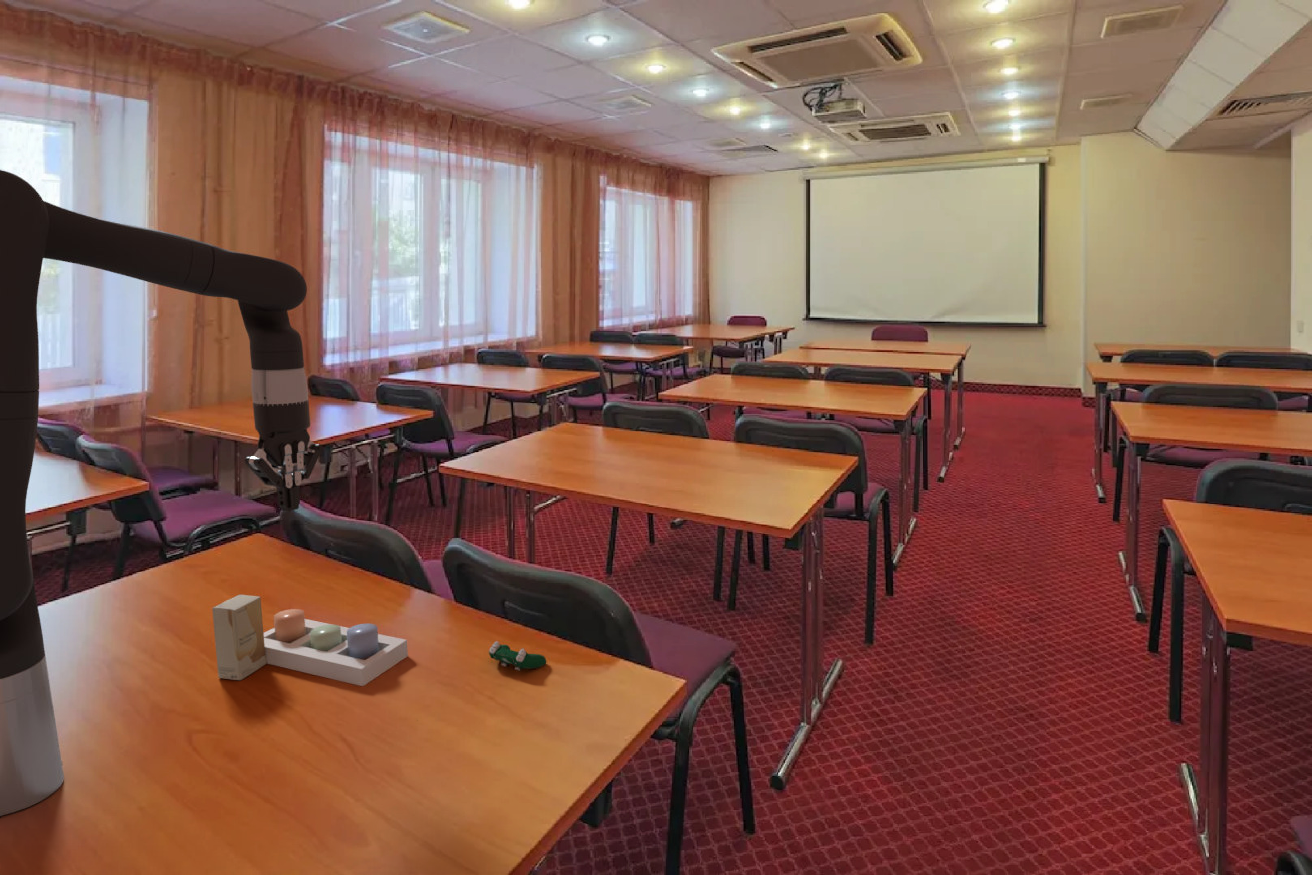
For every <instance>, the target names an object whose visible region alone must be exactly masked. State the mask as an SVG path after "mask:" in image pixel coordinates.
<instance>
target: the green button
mask: <svg viewBox="0 0 1312 875" xmlns="http://www.w3.org/2000/svg"><path fill="white" fill-rule="evenodd" d="M329 624H330V625H322V626H319V627H316V628H314V629H313V630H311V632H310V638H311V648H312V649H317V650H321V651H326V652H327V651H329V650H331V649H332V648H334V647H336V646H338V645H339V644H341V643H342V640H341V628H340V626H341V625H338V624H331V623H329Z"/></svg>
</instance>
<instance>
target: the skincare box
mask: <svg viewBox="0 0 1312 875" xmlns="http://www.w3.org/2000/svg"><path fill="white" fill-rule="evenodd" d="M261 598H262V597H261V596H257V595H248V594H247V595H246V594H238V595H236V596H234V597H232V598H230V599H227V600H224V601H223V602H222V603H219V604H218V605H216V606H214V607H212V609H211V610H212V620H213V630H214V632H213V633H214V643H215V654H216V664H217V665H216V666H217V675H218V678H219V679H227V680H233V681H242V680H243V679H245V678H246V677H248V676H250V675H251V674H253V673H255V672H256V671H257V670H259V669H260V668H262V667H264V666H265V665H266V664H267V663H266V657H265V645H264V625H263V624H264V623H263V610H262V599H261Z"/></svg>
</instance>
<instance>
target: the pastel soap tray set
mask: <svg viewBox="0 0 1312 875" xmlns="http://www.w3.org/2000/svg"><path fill="white" fill-rule="evenodd" d="M330 624H331V623H325V622H321V621H318V620H312V619H307V618H305V629H306V635H305V636H303V637H301V638H300V639H298V640H296V641H292V642H281V641H277V640H276V638H275V627H273V628H271V629H269V630H267V631H263V633H264V645H265V657H266V664H268V665H272V666H276V667H280V668H285V669H289V670H293V671H296V672H301V673H304V674H305V673H306V674H309V675H313V676H314V675H315V676H317V677H322V678H327V679H331V680H335V681H339V682H343V683H347V684H352V685H356V686H360V687H364V686H366V685H367V684H369V683H370V682H371V681H373V680H375V679H376V678H377V677H379V676H380V675H381V674H383V673H385V672H386V671H387V670H389V669H391V668H392V667H394V666H395V665H396V664H397V665H398V663H400V662H401V661H402V660H404V659H405V658H407V657H408V656H409V652H408V651H409V650H408V640H407V639H406V638H405V639H404V638H400V637H396V636H395V637H394V636H389V635H385V634H380V633H378V644H379V651H378V653H376V654H374V655H373V656H371V657H368V658H365V659H363V658H362V659H357V658H353V657H350V656H349V655H348V642H347V630H348V629H349V628H350V627H345V626H341V625H339V626H340V628H341V640H342V643H341V644H339V645H338V646H336V647H334V648H332V649H331V650H329V651H327V652H326V651H321V650H317V649H312V648H311V638H310V632H311V630H313V629H314V628H316V627H319V626H322V625H330Z"/></svg>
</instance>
